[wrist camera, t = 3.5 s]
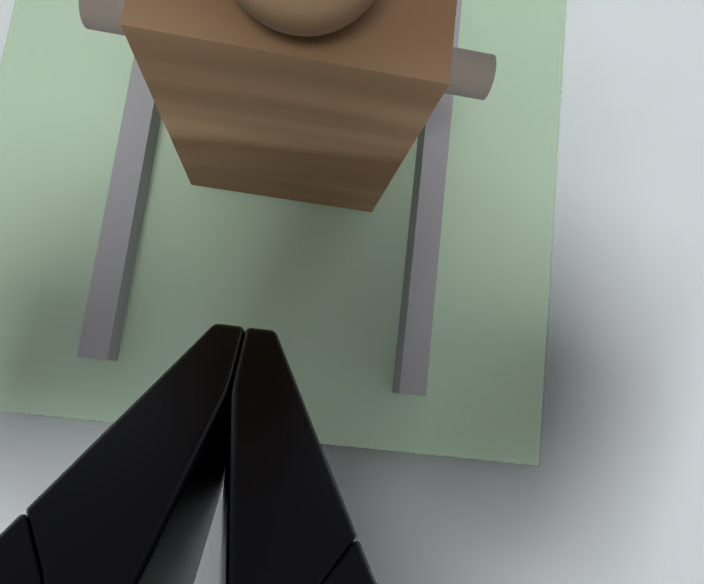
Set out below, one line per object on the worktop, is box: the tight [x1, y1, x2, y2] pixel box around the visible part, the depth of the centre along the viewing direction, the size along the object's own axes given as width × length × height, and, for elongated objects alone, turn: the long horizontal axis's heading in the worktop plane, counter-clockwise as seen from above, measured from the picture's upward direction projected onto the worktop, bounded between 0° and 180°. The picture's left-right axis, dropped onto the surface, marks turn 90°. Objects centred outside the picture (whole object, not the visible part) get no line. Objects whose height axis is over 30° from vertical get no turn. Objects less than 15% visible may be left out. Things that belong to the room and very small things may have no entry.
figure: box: [79, 0, 496, 212], centre depth 12 cm, size 4×8×11 cm, turn 84°
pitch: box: [0, 0, 566, 466], centre depth 18 cm, size 24×18×2 cm
